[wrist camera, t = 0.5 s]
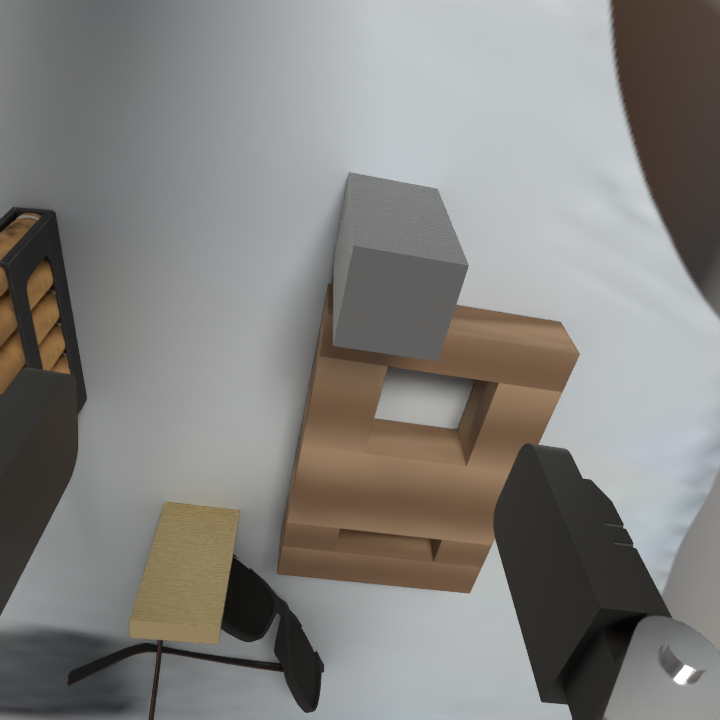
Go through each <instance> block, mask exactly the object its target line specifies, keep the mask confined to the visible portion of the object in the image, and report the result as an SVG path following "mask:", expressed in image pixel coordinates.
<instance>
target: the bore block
mask: <svg viewBox="0 0 720 720" xmlns="http://www.w3.org/2000/svg"><path fill="white" fill-rule="evenodd" d="M579 355H580V354H579V352H578V350H577V348H576V347H575V345H574V343H573V342H572V340H571V338H570V337H569V335H568V333H567V332H566V330H565V328H564V326H563V325H562V323H561V322H557V321H551V320H545V319H539V318H533V317H527V316H520V315H514V314H508V313H502V312H496V311H490V310H484V309H478V308H471V307H465V306H459V305H456V307H455V310H454V313H453V316H452V320H451V323H450V326H449V329H448V332H447V335H446V338H445V342H444V345H443V348H442V351H441V354H440V357H439V360H438V362H437V361H430V360H424V359H417V358H410V357H404V356H397V355H390V354H384V353H377V352H370V351H364V350H357V349H350V348H344V347H337V346H333V285H331V284H328V288H327V293H326V299H325V304H324V309H323V314H322V320H321V325H320V330H319V336H318V341H317V346H316V351H315V357H314V362H313V367H312V372H311V378H310V383H309V388H308V394H307V399H306V404H305V409H304V415H303V420H302V425H301V430H300V436H299V441H298V446H297V452H296V457H295V462H294V467H293V473H292V478H291V483H290V488H289V494H288V499H287V504H286V510H285V515H284V520H283V525H282V531H281V537H280V548H279V559H278V570H277V574H281V575H291V576H301V577H311V578H321V579H331V580H341V581H351V582H361V583H371V584H381V585H391V586H400V587H410V588H420V589H430V590H440V591H450V592H460V593H470V592H471V590H472V587H473V585H474V583H475V581H476V579H477V576H478V574H479V572H480V570H481V568H482V566H483V563H484V561H485V559H486V557H487V555H488V553H489V550H490V548H491V546H492V544H493V542H494V540H495V535H494V528H493V519H494V511H495V506H496V503H497V500H498V498H499V496H500V493H501V491H502V489H503V487H504V484H505V482H506V480H507V477H508V475H509V473H510V471H511V468H512V466H513V464H514V461H515V459H516V457H517V455H518V452H519V450H520V449H521V447H522V446H523V445H524V444H526V443H530V444H537V445H538V444H539V442H540V440H541V437H542V435H543V433H544V431H545V429H546V427H547V424H548V422H549V420H550V418H551V416H552V414H553V411H554V409H555V407H556V405H557V403H558V401H559V398H560V396H561V394H562V392H563V390H564V387H565V385H566V383H567V381H568V379H569V377H570V374H571V372H572V370H573V368H574V366H575V364H576V361H577V359H578V357H579ZM388 367H395V368H402V369H408V370H415V371H422V372H429V373H436V374H442V375H449V376H456V377H463V378H469V379H476V380H475V383H474V386H473V389H472V391H471V394H470V397H469V400H468V402H467V405H466V408H465V411H464V413H463V416H462V419H461V422H460V424H459V427H458V430H455V429H447V428H440V427H433V426H425V425H418V424H411V423H403V422H396V421H389V420H381V419H374V416H375V412H376V409H377V405H378V401H379V398H380V394H381V390H382V386H383V383H384V379H385V375H386V371H387V368H388Z"/></svg>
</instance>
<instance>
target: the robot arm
mask: <svg viewBox="0 0 720 720" xmlns="http://www.w3.org/2000/svg"><path fill="white" fill-rule="evenodd" d="M77 452H78V417H77V383H76V379H75V376H74V375H73V374H68V373H61V372H54V371H48V370H41V369H34V368H27V367H26V368H24V369H23V370H21V372H20V373H19V374H18V375H17V377H16V378H15V379H14V380H13V382H12V383H11V384H10V386H9V387H8V388H7V389H6V391H5V392H4V393H3V395H2V394H0V615H1V613H2V611H3V609H4V608H5V606H6V604H7V602H8V600H9V598H10V596H11V594H12V592H13V590H14V588H15V586H16V584H17V582H18V580H19V578H20V576H21V574H22V573H23V571H24V569H25V567H26V565H27V563H28V561H29V559H30V557H31V555H32V553H33V551H34V549H35V547H36V545H37V543H38V541H39V539H40V538H41V536H42V534H43V532H44V530H45V528H46V526H47V524H48V522H49V520H50V518H51V516H52V514H53V512H54V510H55V508H56V506H57V505H58V503H59V501H60V499H61V497H62V495H63V493H64V491H65V489H66V487H67V485H68V483H69V481H70V479H71V476H72V474H73V471H74V467H75V463H76V459H77ZM623 525H624V524H623V522H622V520H621V518H620V516H619V514H618V513H617V511H616V509H615V507H614V505H613V503H612V501H611V500H610V499H609V498H608V497H607V496H606V495H605V494H604V493H603V492H602V491H601V490H600V489H599V488H598V487H597V486H596V485H595V484H594V482H593V481H592V480H589V479H583V478H582V476H581V474H580V472H579V470H578V468H577V466H576V464H575V462H574V460H573V457H572V455H571V454H570V452H569V451H568V450H567V449H563V448H557V447H550V446H543V445H537V444H530V443H526V444H524V445H523V446H522V447H521V449H520V450H519V452H518V455H517V457H516V459H515V461H514V464H513V466H512V468H511V471H510V473H509V475H508V477H507V480H506V482H505V484H504V487H503V489H502V491H501V493H500V496H499V498H498V500H497V503H496V506H495V511H494V519H493V528H494V535H495V539H496V543H497V546H498V550H499V553H500V557H501V560H502V564H503V568H504V571H505V575H506V578H507V582H508V585H509V589H510V592H511V596H512V599H513V603H514V607H515V610H516V614H517V617H518V621H519V624H520V628H521V631H522V635H523V638H524V642H525V646H526V649H527V653H528V656H529V660H530V663H531V667H532V670H533V674H534V677H535V681H536V685H537V688H538V692H539V695H540V699H541V702H546V703H557V704H568V706H569V709H570V712H571V715H572V720H720V652H719V650H718V649H717V648H716V647H715V646H714V645H713V644H712V643H711V642H710V641H709V640H708V639H707V638H706V637H705V636H703V635H702V634H701V633H700V632H698V631H697V630H695V629H694V628H692V627H691V626H689V625H687V624H685V623H683V622H681V621H679V620H676V619H673V618H672V616H671V615H670V613H669V611H668V609H667V607H666V605H665V603H664V601H663V599H662V597H661V595H660V593H659V591H658V590H657V588H656V586H655V584H654V582H653V580H652V578H651V576H650V574H649V572H648V570H647V568H646V566H645V564H644V563H643V561H642V559H641V557H640V555H639V553H638V551H637V549H636V548H633V541H632V539H631V538H630V536H629V534H628V532H627V530H626V529H623Z"/></svg>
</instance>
